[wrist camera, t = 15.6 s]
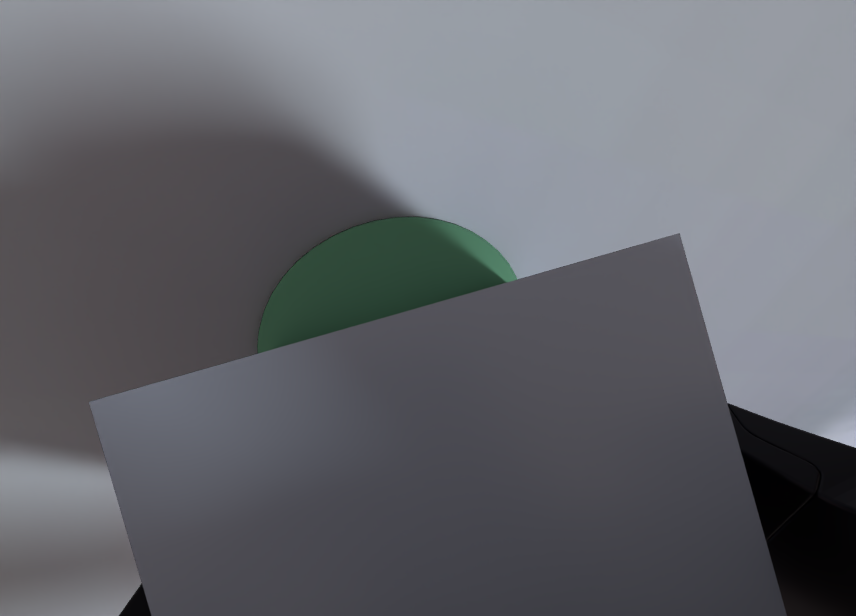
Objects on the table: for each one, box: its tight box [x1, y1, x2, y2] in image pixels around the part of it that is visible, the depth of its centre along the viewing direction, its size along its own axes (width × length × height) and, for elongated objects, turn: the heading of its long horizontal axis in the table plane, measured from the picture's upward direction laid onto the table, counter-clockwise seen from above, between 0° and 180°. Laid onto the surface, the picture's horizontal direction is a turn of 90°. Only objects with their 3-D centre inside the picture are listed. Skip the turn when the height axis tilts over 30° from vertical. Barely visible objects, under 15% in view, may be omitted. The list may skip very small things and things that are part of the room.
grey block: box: [89, 233, 787, 616], centre depth 7 cm, size 8×8×6 cm
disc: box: [257, 217, 517, 353], centre depth 11 cm, size 9×9×1 cm
